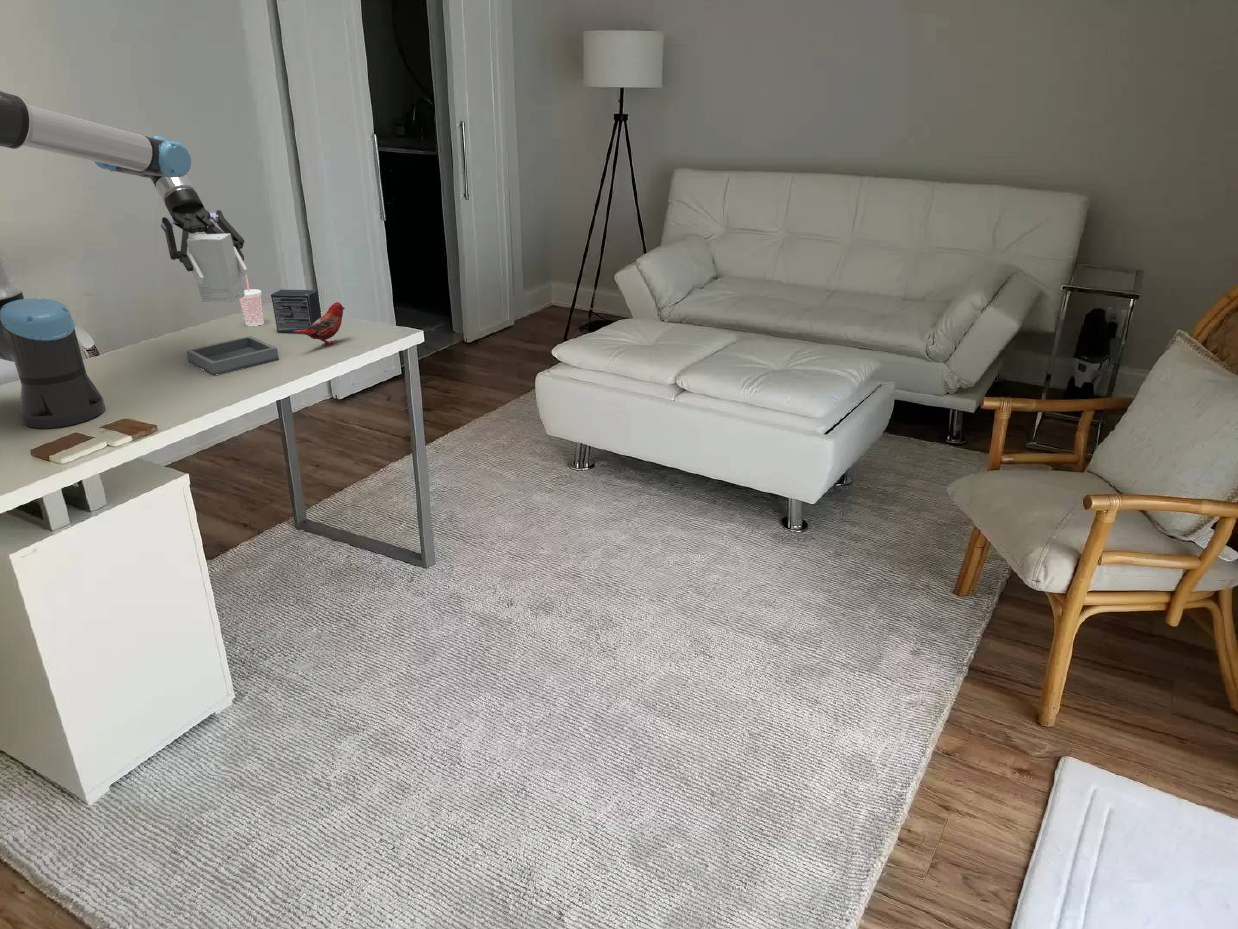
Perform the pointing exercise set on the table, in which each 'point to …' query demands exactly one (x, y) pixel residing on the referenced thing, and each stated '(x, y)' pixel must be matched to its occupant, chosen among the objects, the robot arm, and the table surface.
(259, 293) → the beverage cup
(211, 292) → the skincare box
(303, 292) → the small box
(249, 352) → the tray
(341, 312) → the decorative bird figurine
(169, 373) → the table surface
